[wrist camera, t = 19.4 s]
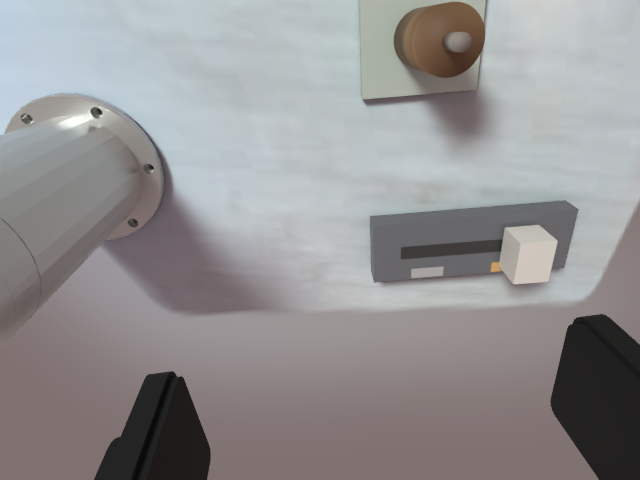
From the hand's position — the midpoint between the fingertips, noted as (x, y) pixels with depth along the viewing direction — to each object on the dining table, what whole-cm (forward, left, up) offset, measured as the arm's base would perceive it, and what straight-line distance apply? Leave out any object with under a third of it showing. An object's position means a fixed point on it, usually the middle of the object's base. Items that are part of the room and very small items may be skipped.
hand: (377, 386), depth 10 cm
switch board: (+12, -11, -27) cm, 31 cm away
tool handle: (+7, +7, -26) cm, 28 cm away
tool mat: (+7, +7, -27) cm, 28 cm away
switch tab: (+16, -11, -24) cm, 31 cm away
